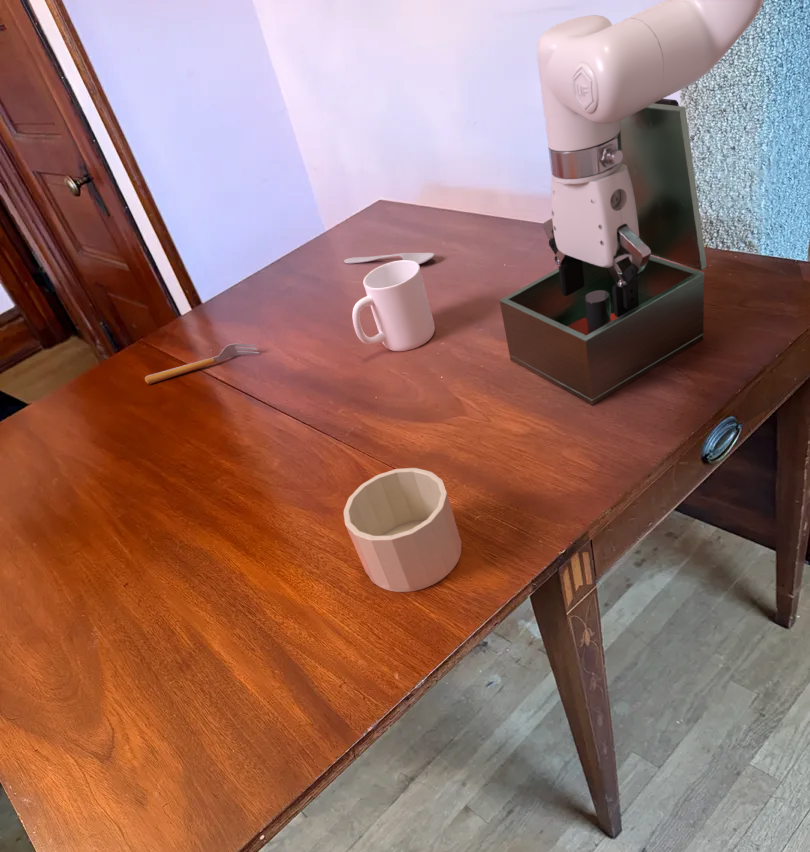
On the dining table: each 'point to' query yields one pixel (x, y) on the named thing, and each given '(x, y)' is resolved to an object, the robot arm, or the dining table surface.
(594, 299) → the pot lid
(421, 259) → the spoon
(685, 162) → the box lid
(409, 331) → the cup
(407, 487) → the pot
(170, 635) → the dining table surface
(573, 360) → the open box
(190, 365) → the fork
